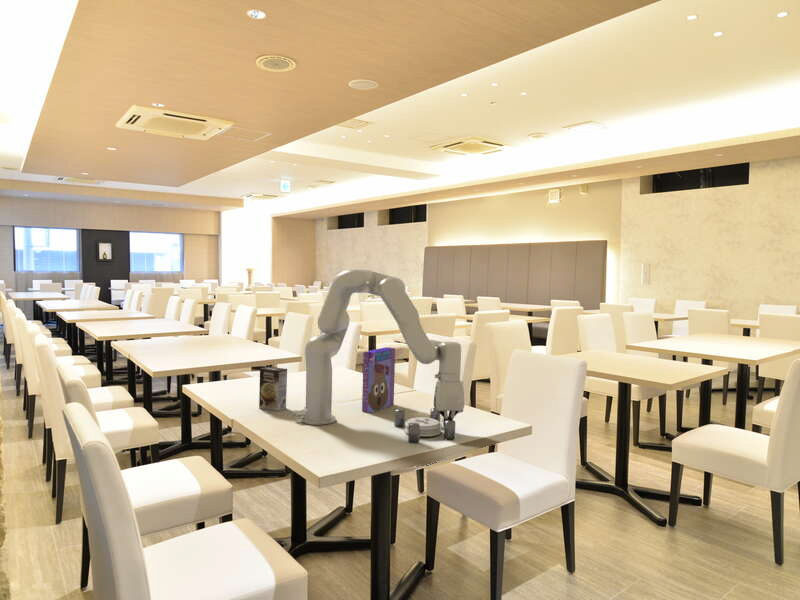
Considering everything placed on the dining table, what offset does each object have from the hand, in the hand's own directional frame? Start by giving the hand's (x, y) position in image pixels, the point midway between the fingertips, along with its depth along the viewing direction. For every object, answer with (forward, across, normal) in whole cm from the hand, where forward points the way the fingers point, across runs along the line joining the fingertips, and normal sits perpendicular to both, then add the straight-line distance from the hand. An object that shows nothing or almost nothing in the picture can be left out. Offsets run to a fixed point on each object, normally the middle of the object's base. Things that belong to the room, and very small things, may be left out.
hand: (447, 428), depth 194 cm
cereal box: (+1, -17, +37) cm, 41 cm away
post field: (+1, -9, 0) cm, 9 cm away
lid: (+2, -9, 0) cm, 9 cm away
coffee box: (+1, -59, +42) cm, 73 cm away
